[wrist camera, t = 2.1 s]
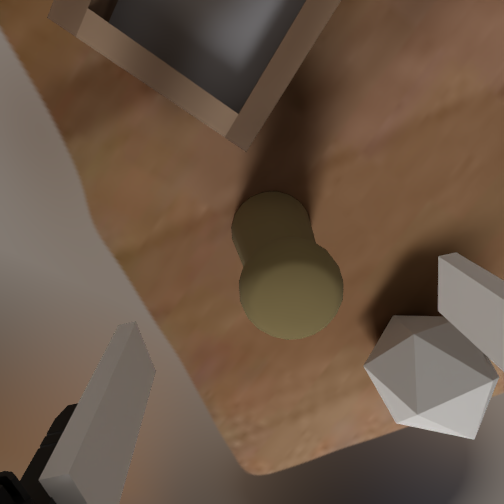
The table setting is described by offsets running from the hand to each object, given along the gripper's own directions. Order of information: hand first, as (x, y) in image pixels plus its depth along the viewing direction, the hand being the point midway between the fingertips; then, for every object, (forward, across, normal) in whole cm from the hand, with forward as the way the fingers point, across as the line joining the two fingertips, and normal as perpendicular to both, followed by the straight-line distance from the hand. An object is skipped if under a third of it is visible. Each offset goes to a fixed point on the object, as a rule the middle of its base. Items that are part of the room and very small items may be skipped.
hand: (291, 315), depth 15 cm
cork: (+12, 0, 0) cm, 12 cm away
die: (+12, -10, +13) cm, 20 cm away
